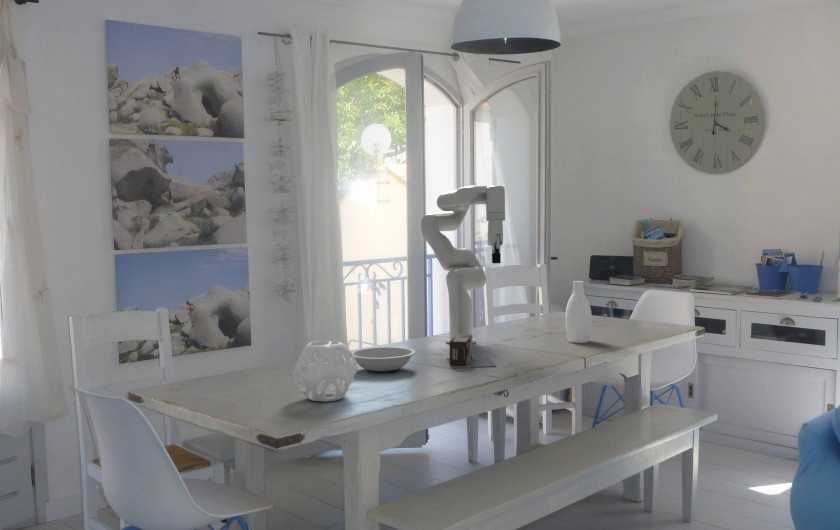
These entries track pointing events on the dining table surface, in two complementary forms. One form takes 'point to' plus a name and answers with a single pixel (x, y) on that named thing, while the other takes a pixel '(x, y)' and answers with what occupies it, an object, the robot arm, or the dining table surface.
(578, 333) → the bottle
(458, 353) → the coffee box
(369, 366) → the soup bowl
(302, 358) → the decorative ball
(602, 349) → the dining table surface
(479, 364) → the slate mat
